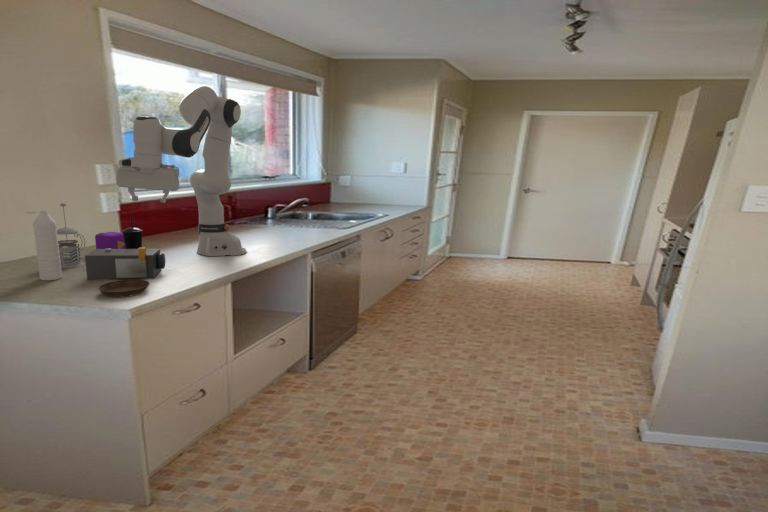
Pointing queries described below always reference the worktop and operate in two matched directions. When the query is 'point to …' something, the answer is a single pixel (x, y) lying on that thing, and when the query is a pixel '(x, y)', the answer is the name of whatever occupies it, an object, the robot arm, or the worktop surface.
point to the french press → (69, 247)
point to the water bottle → (46, 246)
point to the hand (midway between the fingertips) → (149, 201)
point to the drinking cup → (132, 237)
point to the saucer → (123, 287)
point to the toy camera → (110, 240)
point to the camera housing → (103, 260)
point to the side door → (132, 266)
